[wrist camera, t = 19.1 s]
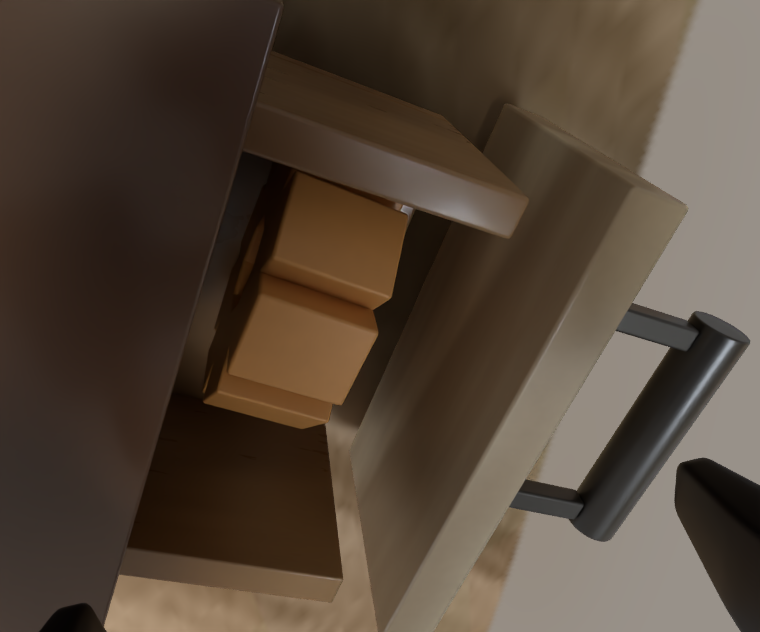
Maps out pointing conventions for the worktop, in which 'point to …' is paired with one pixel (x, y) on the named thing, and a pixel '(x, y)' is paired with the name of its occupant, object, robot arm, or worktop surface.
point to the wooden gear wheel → (303, 299)
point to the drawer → (431, 360)
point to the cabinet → (104, 262)
